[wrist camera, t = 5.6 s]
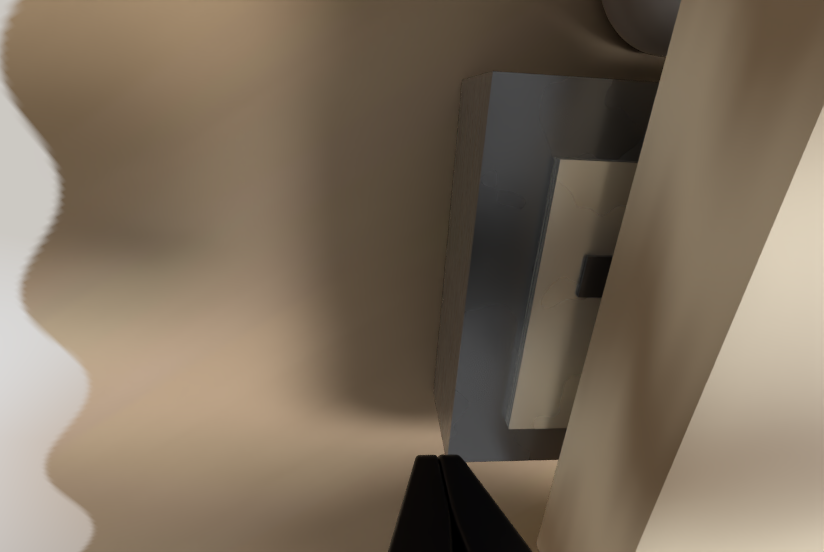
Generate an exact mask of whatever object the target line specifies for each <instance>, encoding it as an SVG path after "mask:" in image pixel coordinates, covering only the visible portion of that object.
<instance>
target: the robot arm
mask: <svg viewBox="0 0 824 552" xmlns="http://www.w3.org/2000/svg"><path fill="white" fill-rule="evenodd" d="M388 552H532V551H531V549H530V548H529V547H528V545H527V544H526V543H525V541H524V540H523V539H522V537H521V536H520V535H519V533H518V532H517V531H516V529H515V528H514V527H513V525H512V524H511V523H510V521H509V520H508V519H507V517H506V516H505V515H504V513H503V512H502V511H501V509H500V508H499V507H498V505H497V504H496V503H495V501H494V500H493V499H492V497H491V496H490V495H489V493H488V492H487V491H486V489H485V488H484V487H483V485H482V484H481V483H480V481H479V480H478V479H477V477H476V476H475V475H474V473H473V472H472V471H471V469H470V468H469V467H468V465H467V464H466V463H465V461H464V460H463V459H462V457H461V456H459V455H457V454H450V455H440V456H439V457H437V456H436V455H418V456H417V457H416V458H415V461H414V465H413V468H412V472H411V475H410V478H409V482H408V485H407V489H406V492H405V495H404V499H403V502H402V506H401V509H400V512H399V516H398V519H397V522H396V526H395V529H394V533H393V536H392V539H391V543H390V546H389V550H388Z"/></svg>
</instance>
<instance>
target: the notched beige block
mask: <svg viewBox="0 0 824 552" xmlns="http://www.w3.org/2000/svg"><path fill="white" fill-rule="evenodd" d="M601 1H602V4H603V7H604V11H605V13H606V15H607V17H608V19H609V21H610V23H611V24H612V26H613V27H614V29H615V30H616V32H617V33H618V34H619V35H620V36H621V37H622V38H623V40H625V41H626V42H627V43H628V44H630V45H631V46H632V47H634V48H636V49H638V50H640V51H642V52H644V53H647V54H650V55H656V56H666V59H665V63H664V67H663V71H662V74H661V78H660V82H659V86H658V89H657V93H656V97H655V101H654V104H653V108H652V112H651V116H650V119H649V123H648V127H647V131H646V134H645V138H644V142H643V146H642V149H641V153H640V157H639V161H638V164H637V168H636V172H635V176H634V179H633V183H632V187H631V190H630V194H629V198H628V202H627V205H626V209H625V213H624V217H623V220H622V224H621V228H620V232H619V235H618V239H617V243H616V247H615V250H614V254H613V258H612V262H611V265H610V269H609V273H608V277H607V280H606V284H605V288H604V292H603V295H602V299H601V303H600V307H599V310H598V314H597V318H596V322H595V325H594V329H593V333H592V337H591V340H590V344H589V348H588V351H587V355H586V359H585V363H584V366H583V370H582V374H581V378H580V381H579V385H578V389H577V393H576V396H575V400H574V404H573V408H572V411H571V415H570V419H569V423H568V426H567V430H566V434H565V438H564V441H563V445H562V449H561V453H560V456H559V460H558V464H557V468H556V471H555V475H554V479H553V483H552V486H551V490H550V494H549V498H548V501H547V505H546V509H545V512H544V516H543V520H542V524H541V527H540V531H539V535H538V539H537V542H536V544H537V547H538V550H539V552H824V0H601Z"/></svg>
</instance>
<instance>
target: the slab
mask: <svg viewBox="0 0 824 552" xmlns="http://www.w3.org/2000/svg"><path fill="white" fill-rule="evenodd" d="M658 86H659V82H647V81H632V80H617V79H602V78H587V77H572V76H557V75H542V74H527V73H511V72H496V71H492V72H489V73H485V74H481V75H478V76H474V77H471V78H467V79H463V80H462V87H461V98H460V109H459V120H458V131H457V142H456V153H455V164H454V174H453V185H452V196H451V207H450V218H449V229H448V240H447V251H446V262H445V273H444V283H443V294H442V305H441V316H440V327H439V338H438V349H437V360H436V371H435V382H434V392H433V393H434V398H435V404H436V409H437V414H438V419H439V425H440V430H441V435H442V440H443V446H444V451H445V455H450V454H457V455H459V456H461V457H462V459H463V460H464V461H465V462H486V461H525V460H559V456H560V453H561V449H562V445H563V441H564V438H565V434H566V430H567V426H568V423H569V419H570V415H571V411H572V408H573V404H574V400H575V396H576V393H577V389H578V385H579V381H580V378H581V374H582V370H583V366H584V363H585V359H586V355H587V351H588V348H589V344H590V340H591V337H592V333H593V329H594V325H595V322H596V318H597V314H598V310H599V307H600V303H601V299H602V295H603V292H604V288H605V284H606V280H607V277H608V273H609V269H610V265H611V262H612V258H613V254H614V250H615V247H616V243H617V239H618V235H619V232H620V228H621V224H622V220H623V217H624V213H625V209H626V205H627V202H628V198H629V194H630V190H631V187H632V183H633V179H634V176H635V172H636V168H637V164H638V161H639V157H640V153H641V149H642V146H643V142H644V138H645V134H646V131H647V127H648V123H649V119H650V116H651V112H652V108H653V104H654V101H655V97H656V93H657V89H658Z"/></svg>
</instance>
